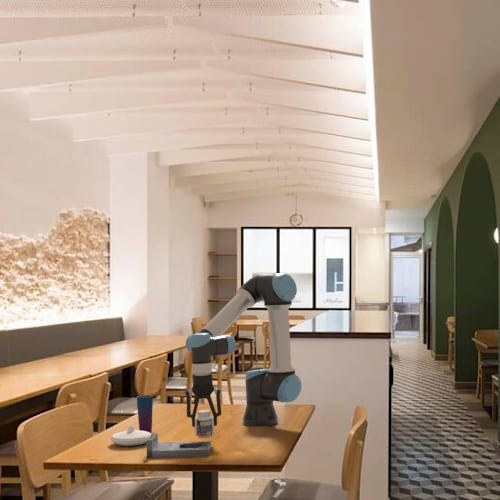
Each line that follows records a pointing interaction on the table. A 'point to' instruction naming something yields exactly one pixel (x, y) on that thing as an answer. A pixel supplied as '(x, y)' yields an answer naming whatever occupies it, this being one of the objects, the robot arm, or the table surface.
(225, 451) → the table surface
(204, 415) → the pill bottle
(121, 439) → the lid
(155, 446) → the jig
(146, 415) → the cup
